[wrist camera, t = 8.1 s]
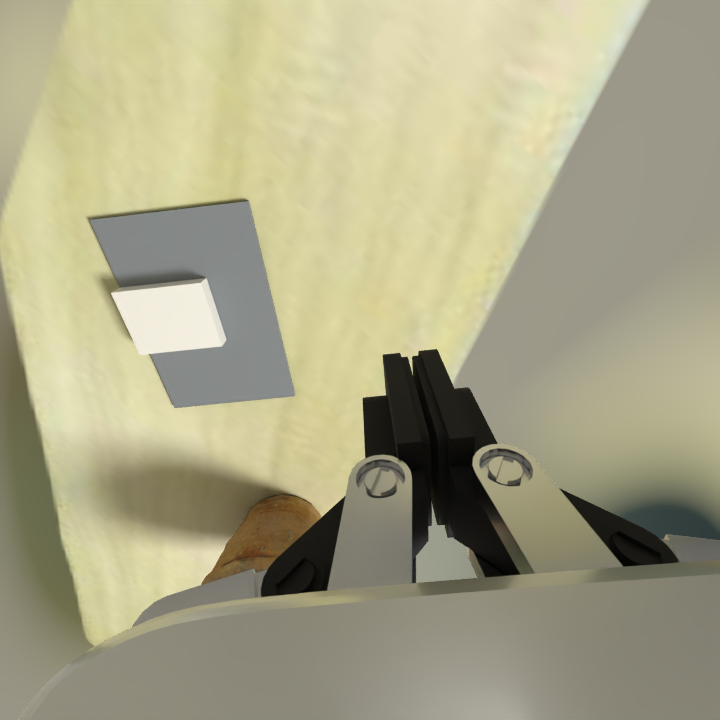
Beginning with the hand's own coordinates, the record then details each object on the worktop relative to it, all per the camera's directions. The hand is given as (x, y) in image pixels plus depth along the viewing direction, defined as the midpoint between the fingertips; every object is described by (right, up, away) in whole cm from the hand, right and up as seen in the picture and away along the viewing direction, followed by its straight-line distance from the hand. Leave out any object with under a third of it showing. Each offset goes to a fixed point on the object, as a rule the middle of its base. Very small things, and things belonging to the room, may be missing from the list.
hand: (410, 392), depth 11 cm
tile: (-17, +6, +26) cm, 31 cm away
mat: (-18, +6, +28) cm, 34 cm away
